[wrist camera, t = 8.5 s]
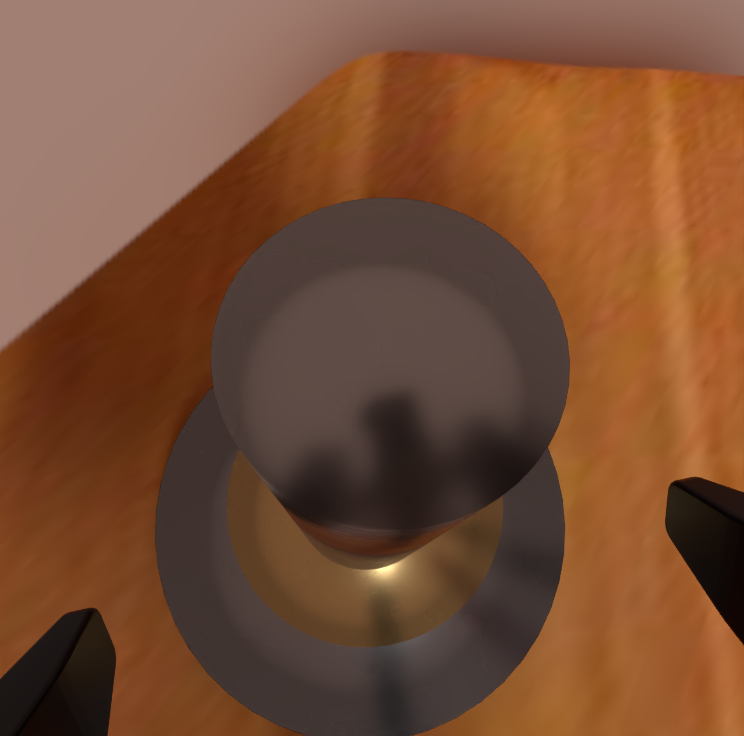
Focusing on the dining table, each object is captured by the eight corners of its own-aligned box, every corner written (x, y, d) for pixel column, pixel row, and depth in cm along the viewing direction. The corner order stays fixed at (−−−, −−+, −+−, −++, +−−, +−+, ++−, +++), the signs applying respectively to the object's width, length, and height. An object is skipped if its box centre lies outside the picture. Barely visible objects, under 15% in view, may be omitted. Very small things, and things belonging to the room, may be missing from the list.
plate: (628, 501, 18) (643, 497, 17) (371, 845, 15) (372, 862, 14) (355, 272, 21) (355, 257, 20) (83, 518, 18) (68, 513, 17)
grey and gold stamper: (508, 441, 18) (775, 186, 7) (440, 680, 15) (682, 908, 4) (300, 365, 19) (225, 21, 7) (202, 583, 16) (-134, 561, 5)
